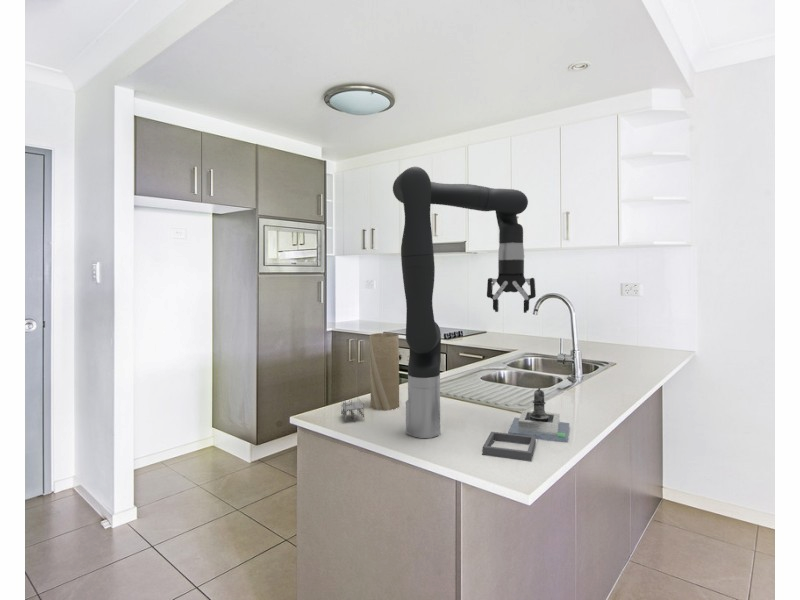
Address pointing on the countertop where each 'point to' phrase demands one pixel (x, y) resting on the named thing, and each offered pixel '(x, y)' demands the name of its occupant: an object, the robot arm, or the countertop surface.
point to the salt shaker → (539, 407)
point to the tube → (384, 371)
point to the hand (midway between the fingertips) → (510, 312)
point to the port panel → (541, 427)
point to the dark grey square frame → (509, 452)
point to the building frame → (353, 407)
